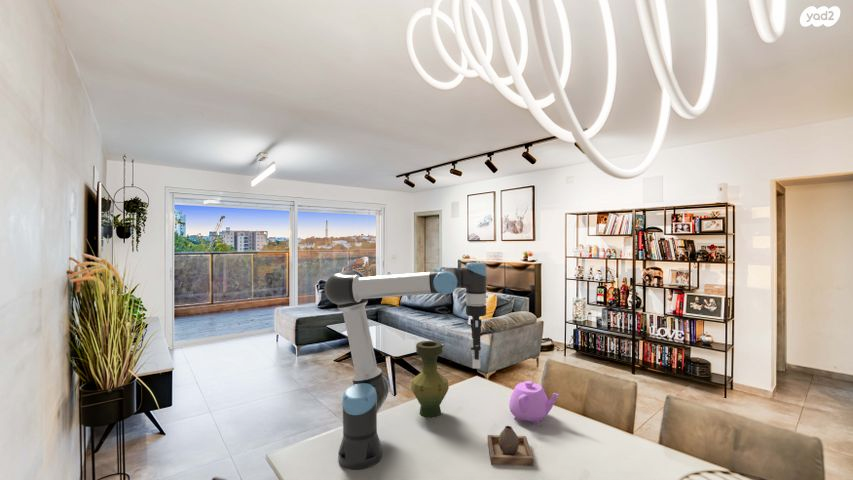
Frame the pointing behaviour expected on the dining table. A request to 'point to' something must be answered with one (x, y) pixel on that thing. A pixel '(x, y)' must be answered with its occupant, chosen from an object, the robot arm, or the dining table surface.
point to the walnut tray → (519, 458)
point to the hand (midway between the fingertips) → (475, 361)
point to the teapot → (530, 402)
